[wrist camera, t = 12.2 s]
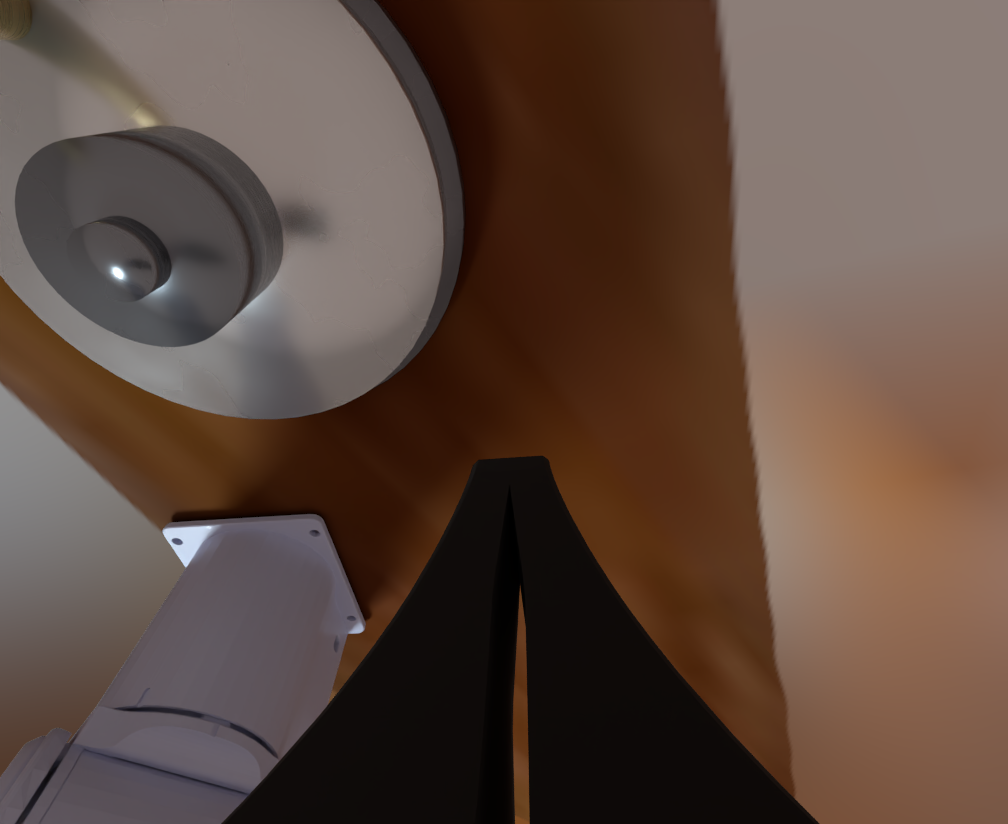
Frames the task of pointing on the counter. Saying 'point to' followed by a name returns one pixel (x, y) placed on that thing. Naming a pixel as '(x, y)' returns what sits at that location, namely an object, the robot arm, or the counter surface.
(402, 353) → the turntable
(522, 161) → the counter surface
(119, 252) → the lid
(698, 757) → the robot arm
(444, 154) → the turntable base
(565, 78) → the counter surface
